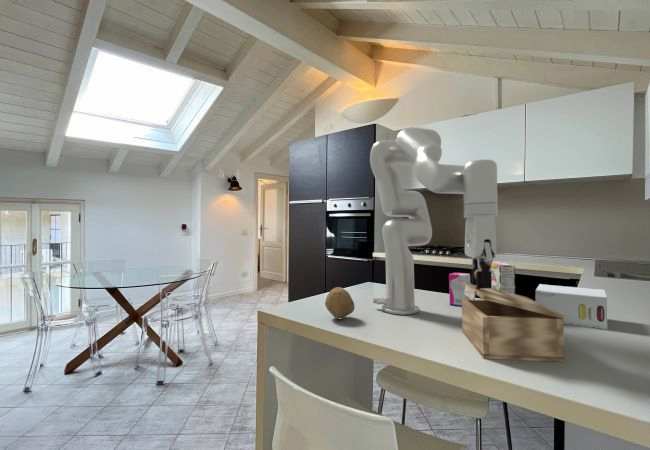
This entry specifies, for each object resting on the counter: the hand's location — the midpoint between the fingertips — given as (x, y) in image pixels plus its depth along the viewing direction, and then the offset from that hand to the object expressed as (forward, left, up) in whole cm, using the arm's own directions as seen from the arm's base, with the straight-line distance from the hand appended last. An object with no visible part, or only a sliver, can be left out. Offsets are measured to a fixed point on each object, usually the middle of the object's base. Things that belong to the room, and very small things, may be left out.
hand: (481, 285), depth 80 cm
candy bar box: (+15, +31, -15) cm, 37 cm away
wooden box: (+6, 0, -14) cm, 15 cm away
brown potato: (-37, +19, -14) cm, 44 cm away
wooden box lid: (+5, 0, -5) cm, 7 cm away
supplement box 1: (+5, +41, -15) cm, 44 cm away
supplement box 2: (+33, +25, -15) cm, 44 cm away
